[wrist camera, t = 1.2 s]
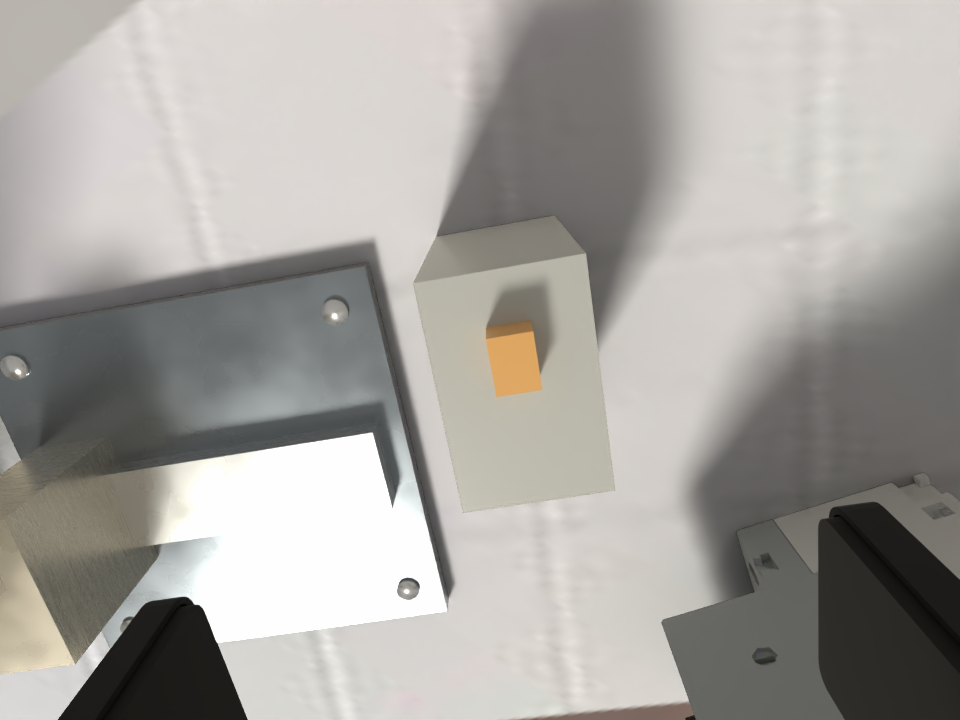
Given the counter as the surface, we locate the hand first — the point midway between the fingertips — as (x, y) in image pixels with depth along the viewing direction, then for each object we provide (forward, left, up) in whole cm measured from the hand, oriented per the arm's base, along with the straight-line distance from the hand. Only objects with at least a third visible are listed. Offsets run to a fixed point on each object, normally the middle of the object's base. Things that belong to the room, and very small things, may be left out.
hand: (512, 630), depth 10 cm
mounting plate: (+12, +5, -17) cm, 21 cm away
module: (-1, 0, -17) cm, 17 cm away
